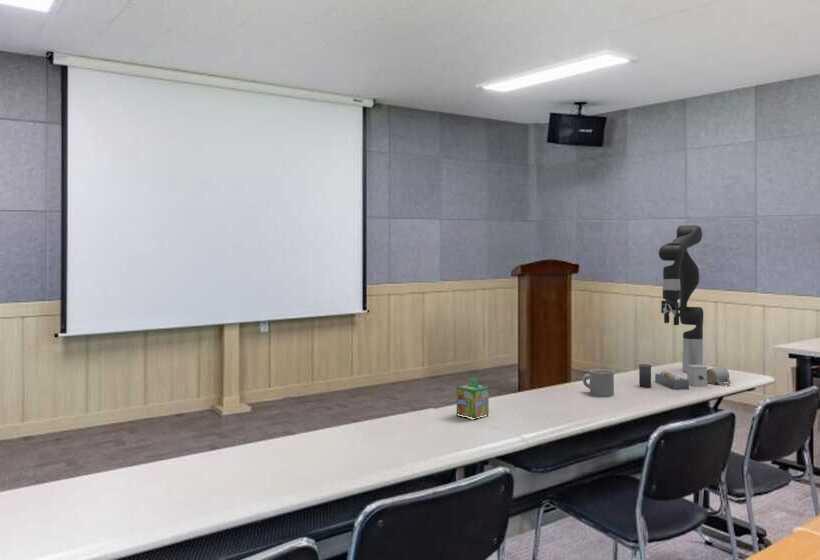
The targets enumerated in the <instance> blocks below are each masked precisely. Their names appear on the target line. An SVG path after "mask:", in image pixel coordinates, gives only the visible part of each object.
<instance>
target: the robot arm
mask: <svg viewBox="0 0 820 560" xmlns="http://www.w3.org/2000/svg"><path fill="white" fill-rule="evenodd" d="M702 238H703V230H702V227H701V226H700V225H696V224H695V225H693V224H692V225H691V224H690V225H689V224H687V225H685V224H684V225H678V226H677V228H676V238H674V239H673V240H672V241H671V242H669V243H668V242H667V243H665V244H663V245H662V246H661V247H660V248H659V250H658V257H659V259H660V260H662V261H668V262H669V261H670V262H671V261H673V263H672V264H670V265H666V266H664V267H663V270H662V299H663V300H661V302H660V303H661V305H660V306H661V307H660V309H661V310H660V311H661V312H660V313H661V314H663V322H664V324H669V323H670V314H671V313H672V316H673V325H674V326H679V325H680V324H681V325H689V326H695V327H694V328H692V329H690V330H687V331H684V332H683V333H682V356H681V357H682V359H681V360H682V362H681V364H682V365H681V366H682V367H681V368H682V370H681V371H683V372H684V373H687V367H686V365H698V364H700V365H703V366H704V360H703V359H704V354H703V353H704V350H703V349H704V344H703V343H704V340H703V337H704V334H703V332H704V330H703V329H704V328H703V326H704V308H702V307H701V306H688V302H689V299H690V298H691V296H692V295H693V293H694V291H695V290H696V288H697V287H698V285H699V283H700V270H699V267H698V265H697V263H696V262H695V261H694V260H693V258H692V257H691V255H690V254H689V252H688V249H690V248H691V247H693V246H695V245H697V244H698V245H699V243H700V242H701V241H702ZM678 300H679V302H678Z"/></svg>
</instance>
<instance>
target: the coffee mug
mask: <svg viewBox="0 0 820 560" xmlns="http://www.w3.org/2000/svg"><path fill="white" fill-rule="evenodd" d="M614 375H615V372H614V371H613V370H610V369H599V368H598V369H591V370H589V373H585V374H584V375H583V378H582V382H583V386H585V387H586V388H588V389H589V394H590V395H591V396H593V397H594V396H595V397H599V398H600V397H603V398H608V397H609V398H610V397H613V396H615V389H614V388H615V386H614V385H615V378H614V377H615V376H614ZM587 378H588V379H589V383H588V382H587Z"/></svg>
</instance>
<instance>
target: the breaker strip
mask: <svg viewBox="0 0 820 560" xmlns="http://www.w3.org/2000/svg"><path fill="white" fill-rule="evenodd" d="M654 374H655V377H654V382H655V383H657V384H659V385H661V386H664V387H666V388H668V389H672V390H673V389H674V390H676V391H677V390H689V389H690V388H689V387H690V385H689V380H687V378H685V377H684V378H683V377H681V376H680V375H677V374H674V373H671V372H668V371H666V370H660V373H654Z"/></svg>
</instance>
